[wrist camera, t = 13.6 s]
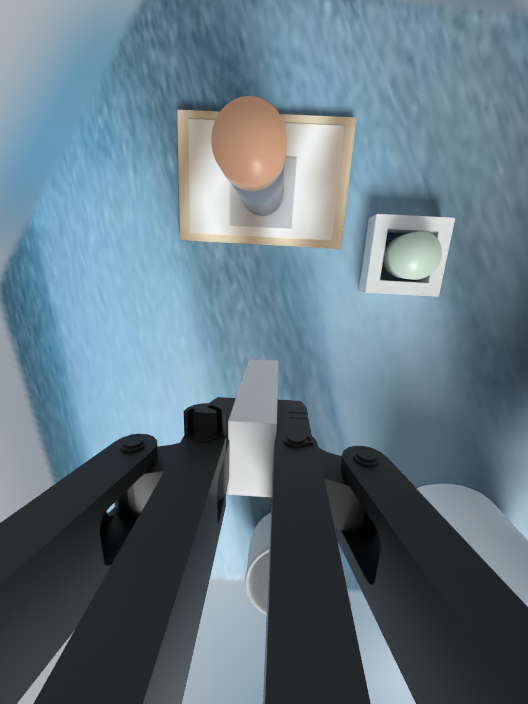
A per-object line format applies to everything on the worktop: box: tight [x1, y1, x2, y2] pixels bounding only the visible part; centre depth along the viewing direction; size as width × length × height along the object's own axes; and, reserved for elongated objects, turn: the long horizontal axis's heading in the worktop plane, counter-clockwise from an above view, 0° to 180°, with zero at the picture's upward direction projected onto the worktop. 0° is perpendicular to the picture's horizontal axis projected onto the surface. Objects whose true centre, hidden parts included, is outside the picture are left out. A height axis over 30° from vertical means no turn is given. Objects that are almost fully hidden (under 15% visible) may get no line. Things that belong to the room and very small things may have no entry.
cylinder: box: [416, 483, 528, 606], centre depth 27 cm, size 17×17×28 cm
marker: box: [211, 96, 287, 216], centre depth 23 cm, size 4×4×12 cm
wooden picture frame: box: [177, 110, 356, 249], centre depth 29 cm, size 16×11×1 cm
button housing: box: [359, 214, 455, 297], centre depth 29 cm, size 7×7×2 cm
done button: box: [383, 231, 442, 280], centre depth 28 cm, size 4×4×3 cm
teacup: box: [245, 512, 351, 615], centre depth 37 cm, size 14×11×8 cm
